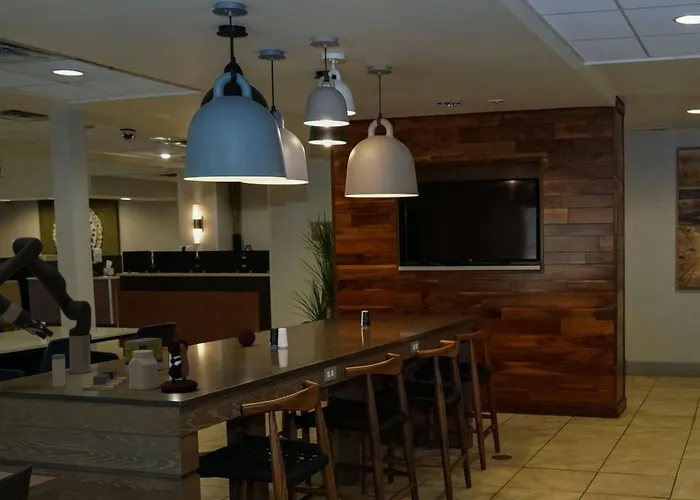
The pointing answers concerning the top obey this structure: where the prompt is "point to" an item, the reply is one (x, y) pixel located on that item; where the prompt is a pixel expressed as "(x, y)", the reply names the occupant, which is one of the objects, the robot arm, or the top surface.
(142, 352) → the jar
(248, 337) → the decorative ball
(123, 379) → the rail board
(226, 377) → the top surface
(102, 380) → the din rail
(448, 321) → the top surface
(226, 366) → the top surface
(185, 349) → the dark brown sculpture
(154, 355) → the tea box
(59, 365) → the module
